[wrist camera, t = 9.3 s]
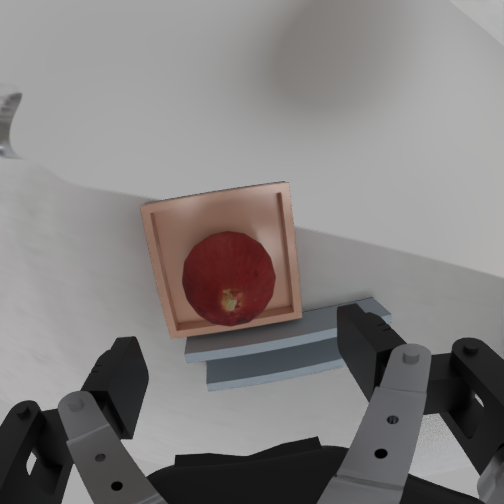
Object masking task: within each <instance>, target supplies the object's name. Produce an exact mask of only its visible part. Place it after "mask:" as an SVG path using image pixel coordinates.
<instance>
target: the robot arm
mask: <svg viewBox="0 0 504 504" xmlns="http://www.w3.org/2000/svg"><path fill="white" fill-rule="evenodd" d="M337 345H338V350H339V353H340V355H341V357H342V358H343V360H344V362H345V363H346V365H347V367H348V368H349V370H350V372H351V373H352V375H353V377H354V378H355V380H356V382H357V383H358V385H359V387H360V388H361V390H362V392H363V393H364V395H365V397H366V398H367V400H368V402H369V405H368V408H367V410H366V412H365V415H364V417H363V419H362V422H361V424H360V426H359V429H358V431H357V433H356V435H355V437H354V440H353V442H352V444H351V446H350V448H345V447H339V446H321V444H320V441H319V438H318V436H317V437H313V438H308V439H304V440H299V441H294V442H288V443H283V444H280V445H278V446H275V447H272V448H270V449H267V450H264V451H261V452H258V453H255V454H252V455H249V456H234V455H223V454H213V453H204V454H187V455H175V464H174V465H172V466H168V467H165V468H162V469H160V470H158V471H156V472H154V473H152V474H150V475H148V476H147V477H145V475H144V474H143V473H142V471H141V470H140V469H139V467H138V466H137V464H136V463H135V462H134V460H133V459H132V457H131V456H130V454H129V453H128V452H127V450H126V449H125V447H124V446H123V444H122V443H121V441H120V440H121V439H133V435H134V431H135V427H136V424H137V420H138V417H139V413H140V410H141V406H142V403H143V399H144V396H145V392H146V389H147V385H148V381H149V375H148V369H147V366H146V363H145V360H144V358H143V355H142V352H141V349H140V346H139V343H138V340H137V338H136V337H135V336H132V337H120V338H117V339H116V340H115V342H114V344H113V346H112V347H111V349H110V350H107V351H106V352H105V353H103V354H102V355H101V356H100V357H99V358H98V360H97V362H96V363H95V367H93V369H92V370H91V373H90V374H89V376H88V377H87V379H86V381H85V383H84V385H83V387H82V388H81V390H80V391H76V392H72V393H70V394H68V395H66V396H65V397H63V398H62V399H61V400H60V402H59V404H58V408H57V409H52V410H47V411H41V409H40V407H39V406H38V404H37V403H36V402H35V401H31V400H27V401H22V402H20V403H18V404H16V405H15V406H14V407H13V408H12V409H11V410H10V411H9V413H8V415H7V416H6V418H5V420H4V421H3V423H2V424H1V426H0V504H61V503H62V499H63V495H64V492H65V489H66V485H67V482H68V479H69V475H70V472H71V469H72V466H73V464H75V465H76V467H77V470H78V472H79V474H80V476H81V478H82V481H83V483H84V485H85V487H86V489H87V491H88V493H89V495H90V497H91V499H92V501H93V503H94V504H504V360H503V359H502V358H501V357H500V356H499V355H498V354H497V353H496V352H494V351H493V350H492V349H491V348H490V347H489V346H488V345H486V344H485V343H484V342H483V341H481V340H479V339H475V338H462V339H459V340H457V341H456V342H454V344H453V346H452V351H451V353H446V354H437V355H431V353H430V351H429V350H428V349H427V348H426V347H424V346H421V345H418V344H407V343H406V342H405V341H404V340H403V339H402V338H401V337H400V336H399V335H398V334H397V333H396V332H395V331H394V330H393V329H391V327H390V326H389V325H388V324H386V322H385V321H384V320H383V319H382V318H381V317H380V316H378V315H376V314H374V313H372V312H367V313H365V312H364V311H363V310H362V308H361V307H360V306H359V305H358V304H357V303H352V304H348V305H343V306H338V307H337ZM475 394H477V395H478V397H479V398H480V399H481V400H482V402H483V405H484V407H483V406H482V405H481V404H480V403H479V402H478V400H477V399H476V398H475ZM435 413H439V414H440V416H441V417H442V419H443V420H444V422H445V423H446V424H447V426H448V427H449V429H450V430H451V432H452V433H453V435H454V436H455V438H456V439H457V441H458V442H459V444H460V445H461V447H462V448H463V450H464V452H465V453H466V455H467V456H468V458H469V459H470V461H471V462H472V464H473V466H474V467H475V469H476V470H477V472H478V473H479V475H480V478H479V480H478V483H477V491H478V494H479V499H477V498H475V497H472V496H470V495H466V494H464V493H460V492H457V491H454V490H451V489H448V488H445V487H443V486H440V485H437V484H434V483H432V482H429V481H426V480H424V479H421V478H419V477H416V476H413V475H411V474H409V473H408V472H409V469H410V465H411V462H412V458H413V455H414V451H415V447H416V443H417V439H418V435H419V431H420V426H421V422H422V417H423V415H428V414H435ZM31 451H32V453H33V454H34V455H35V456H36V458H37V459H36V462H35V464H34V467H33V469H32V471H31V474H30V475H29V474H28V472H27V468H26V464H27V460H28V458H29V456H30V453H31Z"/></svg>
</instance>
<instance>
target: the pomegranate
mask: <svg viewBox="0 0 504 504" xmlns="http://www.w3.org/2000/svg"><path fill="white" fill-rule="evenodd" d="M275 280H276V275H275V271H274V268H273V264H272V260H271V257H270V256H269V254H268V253H267V251H266V250H265V248H264V247H263V245H262V244H261V243H259V242H258V241H256V240H254V239H253V238H251V237H249V236H248V235H246V234H245V233H239V232H232V231H225V232H220V233H216V234H212V235H210V236H208V237H207V238H205V239H204V240H202V241H201V242H199V243H198V244H197V245H195V246H194V247H193V249H192V250H191V252H190V253H189V255H188V256H187V258H186V259H185V261H184V267H183V275H182V285H183V289H184V292H185V296H186V299H187V301H188V302H189V304H190V305H191V306H192V308H193V309H194V310H195V312H196V313H197V314H198V315H199V316H201V317H202V318H204V319H205V320H207V321H208V322H210V323H212V324H216V325H222V326H229V327H231V326H236V325H241V324H245V323H249V322H251V321H252V320H253V319H254V318H256V317H257V316H258V315H259V314H260V313H262V312H263V311H264V310H265V308H266V306H267V305H268V303H269V302H270V300H271V298H272V297H273V292H274V286H275Z"/></svg>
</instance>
